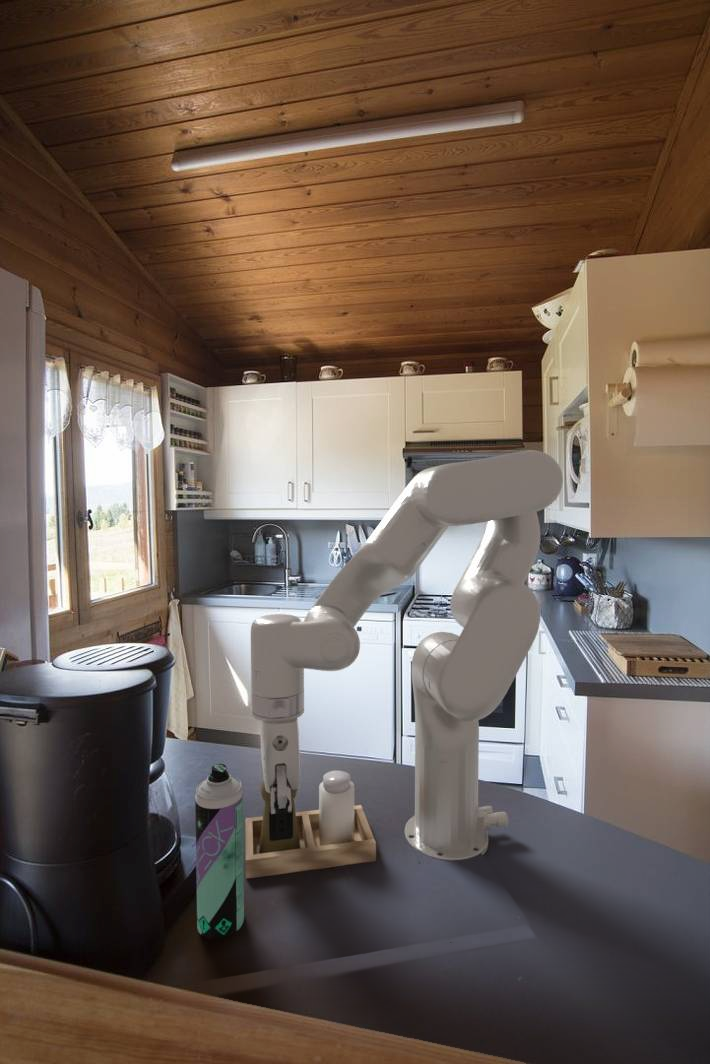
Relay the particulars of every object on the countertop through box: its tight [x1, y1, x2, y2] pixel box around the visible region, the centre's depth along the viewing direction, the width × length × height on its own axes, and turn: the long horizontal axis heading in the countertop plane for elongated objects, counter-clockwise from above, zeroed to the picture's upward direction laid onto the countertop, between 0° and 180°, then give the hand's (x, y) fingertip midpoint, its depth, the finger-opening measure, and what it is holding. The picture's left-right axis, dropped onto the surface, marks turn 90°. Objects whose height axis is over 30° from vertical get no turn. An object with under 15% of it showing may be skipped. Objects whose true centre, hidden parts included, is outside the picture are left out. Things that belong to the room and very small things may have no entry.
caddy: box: [245, 804, 377, 879], centre depth 79 cm, size 18×10×4 cm, turn 102°
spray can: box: [194, 763, 245, 940], centre depth 65 cm, size 6×6×20 cm
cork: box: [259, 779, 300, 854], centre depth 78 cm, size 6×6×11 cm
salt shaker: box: [318, 770, 355, 846], centre depth 80 cm, size 5×5×10 cm
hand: (278, 818), depth 78 cm, fingers open, 9 cm apart
